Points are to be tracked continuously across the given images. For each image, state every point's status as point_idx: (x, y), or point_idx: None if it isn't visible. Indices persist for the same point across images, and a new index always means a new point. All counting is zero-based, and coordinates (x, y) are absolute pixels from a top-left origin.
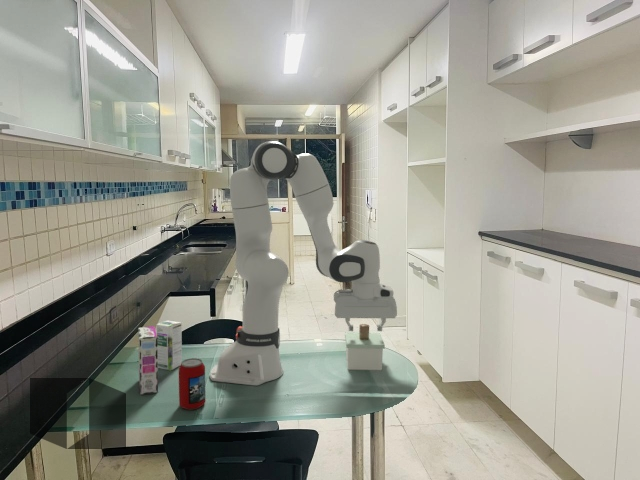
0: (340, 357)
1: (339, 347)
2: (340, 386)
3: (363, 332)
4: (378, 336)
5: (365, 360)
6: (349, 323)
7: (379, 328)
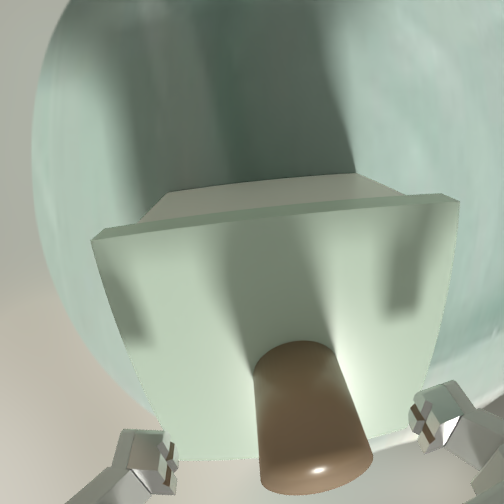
0: None
1: None
2: (376, 4)
3: (321, 393)
4: (179, 420)
5: (267, 194)
6: (477, 437)
7: (143, 451)
